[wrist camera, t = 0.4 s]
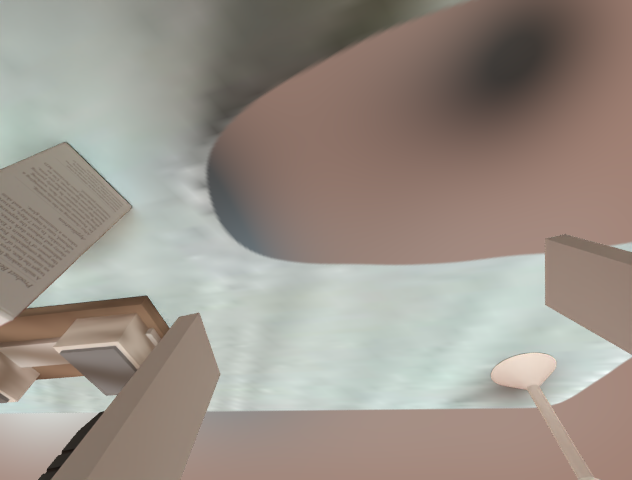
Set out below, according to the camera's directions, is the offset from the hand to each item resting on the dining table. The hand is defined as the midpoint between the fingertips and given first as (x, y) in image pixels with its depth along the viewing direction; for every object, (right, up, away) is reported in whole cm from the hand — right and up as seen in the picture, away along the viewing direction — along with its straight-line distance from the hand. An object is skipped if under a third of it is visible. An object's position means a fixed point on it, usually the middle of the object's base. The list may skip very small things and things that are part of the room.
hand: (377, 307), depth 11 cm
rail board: (-29, -8, +20) cm, 36 cm away
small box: (-20, +6, +10) cm, 23 cm away
